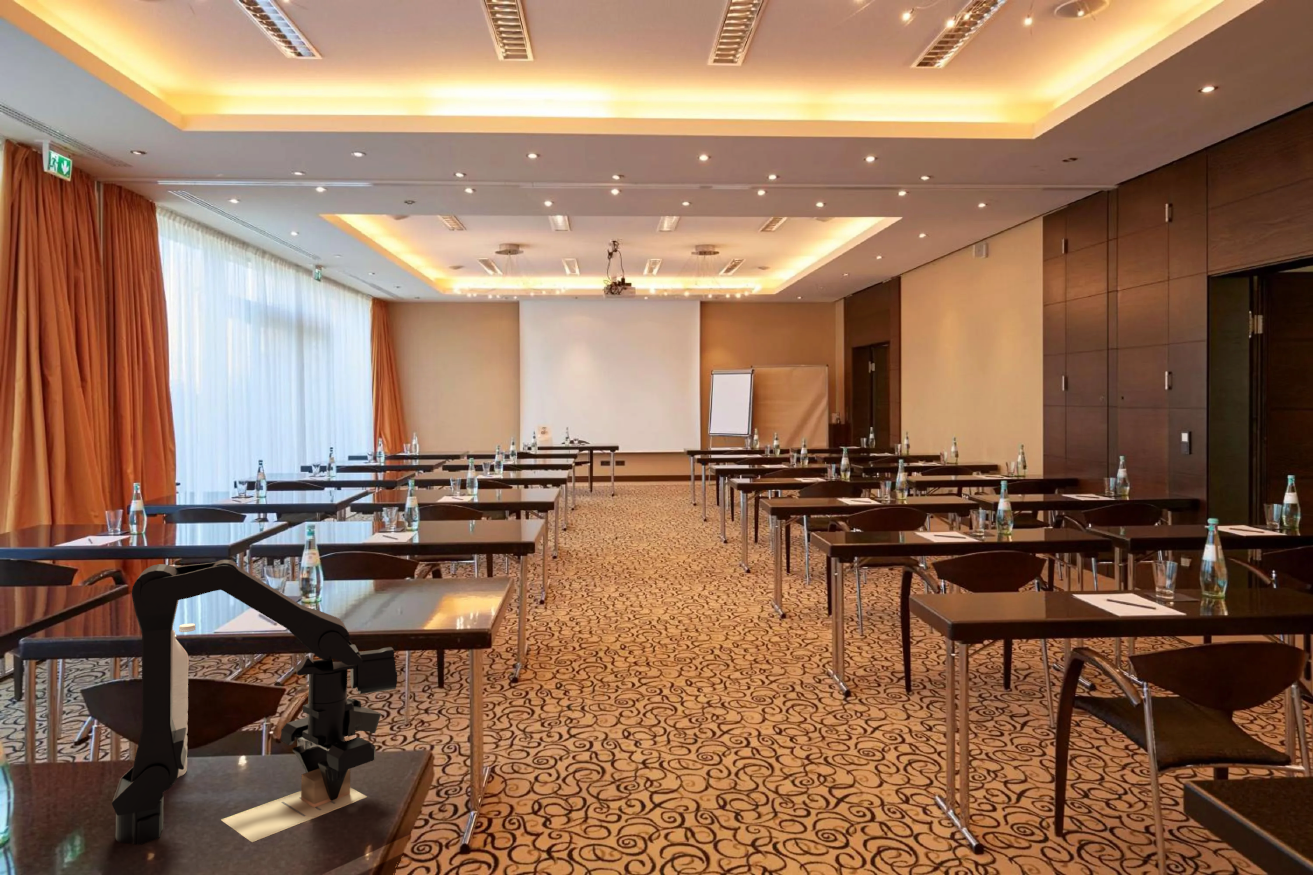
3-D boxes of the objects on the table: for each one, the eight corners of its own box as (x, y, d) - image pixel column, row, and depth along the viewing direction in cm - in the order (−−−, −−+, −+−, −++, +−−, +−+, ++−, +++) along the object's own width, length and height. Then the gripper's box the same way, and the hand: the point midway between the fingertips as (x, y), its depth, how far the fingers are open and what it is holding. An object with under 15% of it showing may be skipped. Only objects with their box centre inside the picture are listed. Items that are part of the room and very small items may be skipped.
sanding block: (301, 799, 122) (301, 774, 122) (336, 786, 127) (337, 762, 127) (314, 807, 120) (314, 781, 120) (349, 793, 125) (350, 768, 125)
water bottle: (165, 785, 130) (167, 636, 130) (133, 780, 131) (135, 633, 131) (206, 763, 138) (208, 624, 138) (175, 759, 140) (177, 622, 140)
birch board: (220, 829, 116) (220, 819, 116) (333, 787, 130) (334, 778, 130) (251, 852, 110) (251, 841, 110) (367, 805, 124) (367, 796, 124)
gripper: (406, 697, 124) (404, 794, 124) (343, 674, 136) (342, 762, 136) (341, 716, 115) (339, 821, 115) (280, 689, 127) (278, 784, 127)
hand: (326, 795), depth 124 cm, fingers closed on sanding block, 4 cm apart
